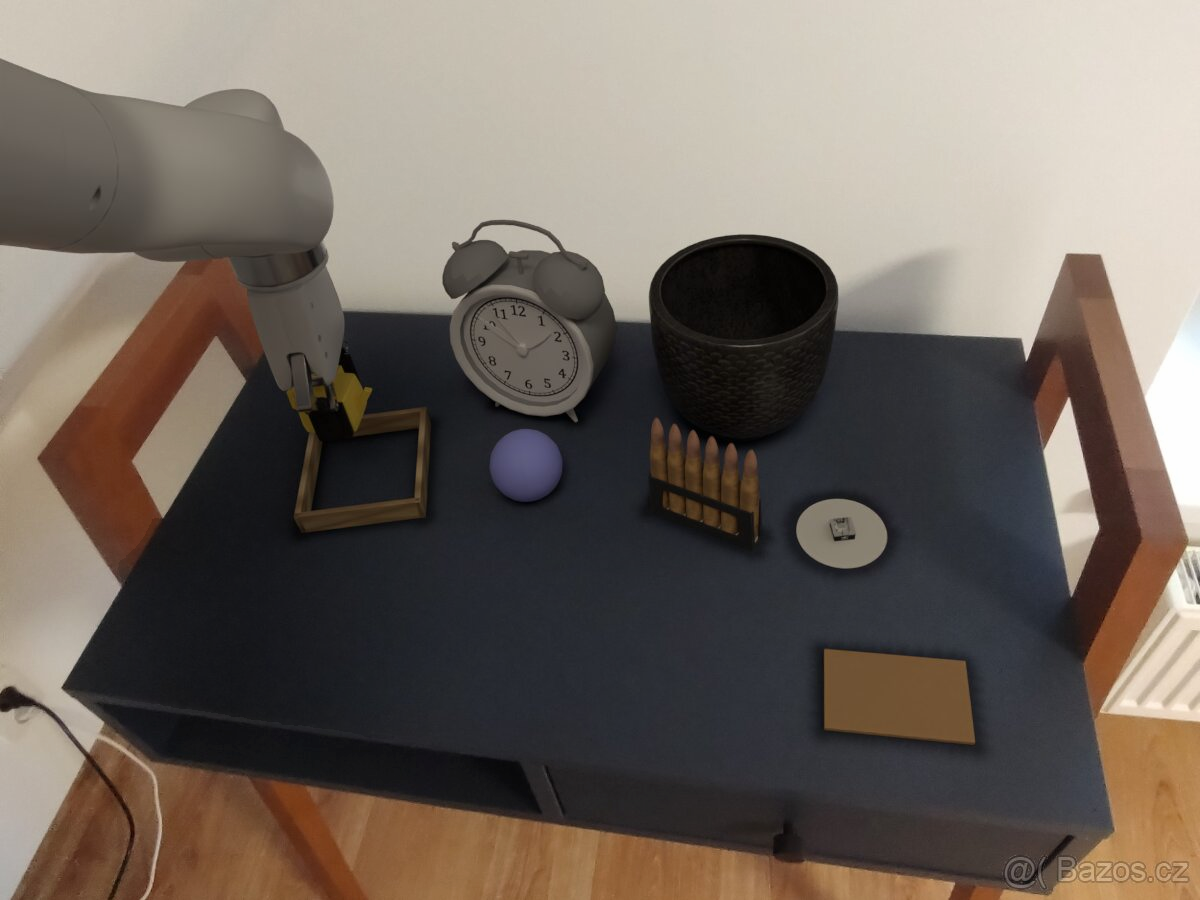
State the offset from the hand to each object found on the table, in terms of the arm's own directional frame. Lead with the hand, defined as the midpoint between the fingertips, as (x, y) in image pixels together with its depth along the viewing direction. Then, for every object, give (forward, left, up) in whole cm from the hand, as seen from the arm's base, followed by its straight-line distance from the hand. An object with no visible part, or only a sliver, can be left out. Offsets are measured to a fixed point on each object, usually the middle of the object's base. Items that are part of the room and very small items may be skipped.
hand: (340, 411), depth 88 cm
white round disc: (-14, -45, -10) cm, 48 cm away
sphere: (-4, -17, -10) cm, 20 cm away
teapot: (0, 0, -1) cm, 1 cm away
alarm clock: (+9, -19, -10) cm, 23 cm away
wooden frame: (+1, 0, -10) cm, 10 cm away
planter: (+3, -39, -10) cm, 40 cm away
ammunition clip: (-11, -33, -10) cm, 36 cm away
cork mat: (-31, -44, -10) cm, 55 cm away
